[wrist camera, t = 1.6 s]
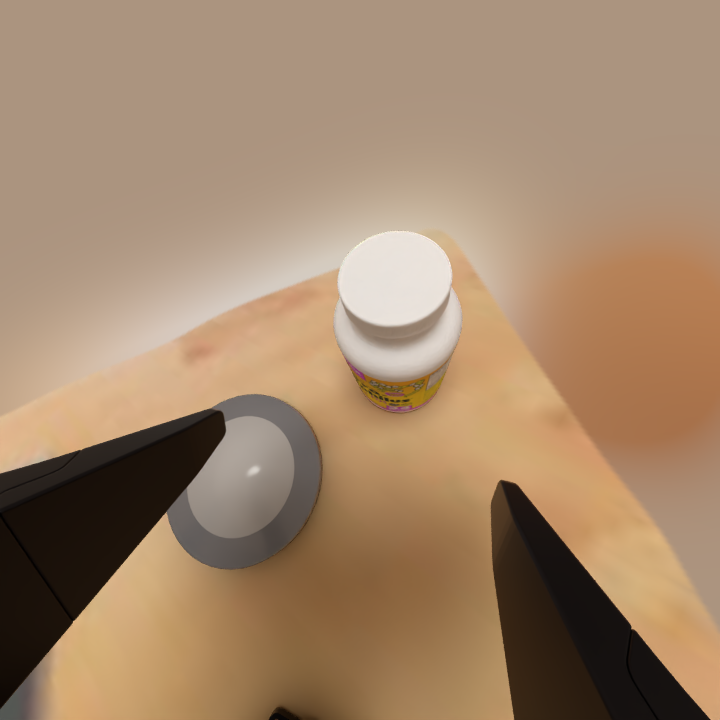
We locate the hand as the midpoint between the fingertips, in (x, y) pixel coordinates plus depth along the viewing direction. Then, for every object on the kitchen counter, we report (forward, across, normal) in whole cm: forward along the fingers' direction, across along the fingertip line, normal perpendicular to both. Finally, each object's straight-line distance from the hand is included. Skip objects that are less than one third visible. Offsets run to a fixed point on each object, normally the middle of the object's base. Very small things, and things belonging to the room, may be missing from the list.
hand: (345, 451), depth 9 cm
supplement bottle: (+14, 0, +4) cm, 15 cm away
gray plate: (+7, +10, +12) cm, 17 cm away
